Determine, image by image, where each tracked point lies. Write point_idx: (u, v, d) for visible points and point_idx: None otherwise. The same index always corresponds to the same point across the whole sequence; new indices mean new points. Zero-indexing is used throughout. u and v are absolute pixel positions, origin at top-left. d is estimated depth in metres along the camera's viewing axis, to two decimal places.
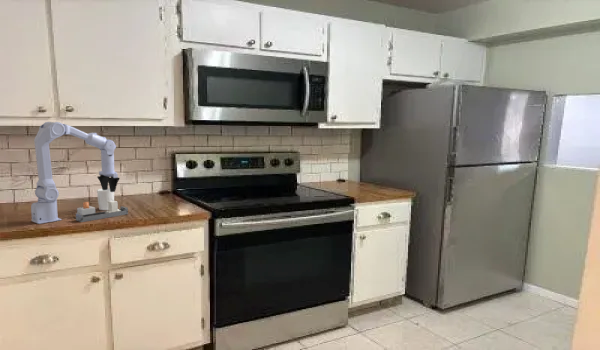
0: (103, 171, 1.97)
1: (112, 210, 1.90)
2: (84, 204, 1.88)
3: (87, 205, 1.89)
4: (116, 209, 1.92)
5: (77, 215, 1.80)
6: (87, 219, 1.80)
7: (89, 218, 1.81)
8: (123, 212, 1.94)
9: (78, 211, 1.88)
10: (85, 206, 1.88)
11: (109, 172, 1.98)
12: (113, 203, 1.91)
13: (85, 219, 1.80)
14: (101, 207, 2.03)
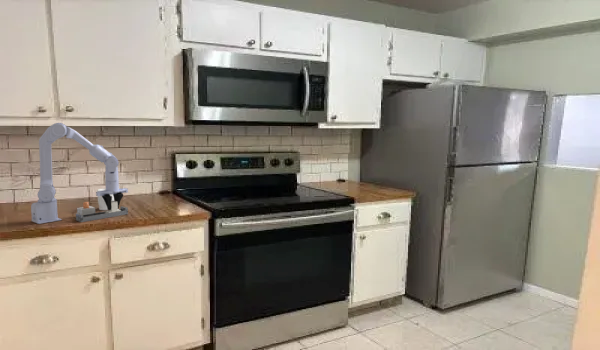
0: None
1: (112, 210, 1.90)
2: (84, 204, 1.88)
3: (87, 205, 1.89)
4: (116, 209, 1.92)
5: (77, 215, 1.80)
6: (87, 219, 1.80)
7: (89, 218, 1.81)
8: (123, 212, 1.94)
9: (78, 211, 1.88)
10: (85, 206, 1.88)
11: None
12: (113, 203, 1.91)
13: (85, 219, 1.80)
14: (101, 207, 2.03)
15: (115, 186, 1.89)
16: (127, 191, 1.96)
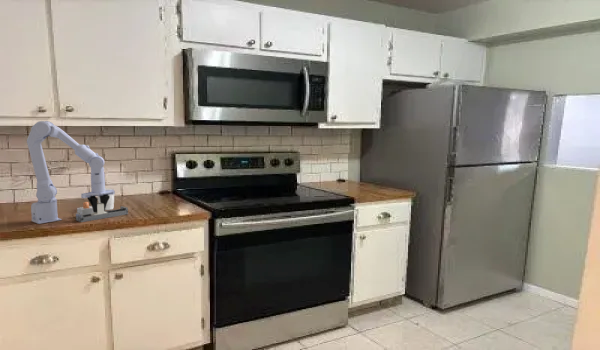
0: None
1: (98, 212, 1.85)
2: (84, 204, 1.88)
3: (87, 205, 1.89)
4: (102, 211, 1.87)
5: (77, 215, 1.80)
6: (87, 219, 1.80)
7: (89, 218, 1.81)
8: (123, 212, 1.94)
9: (78, 211, 1.88)
10: (85, 206, 1.88)
11: (91, 191, 1.84)
12: (99, 205, 1.85)
13: (85, 219, 1.80)
14: None
15: (101, 187, 1.84)
16: (114, 193, 1.91)
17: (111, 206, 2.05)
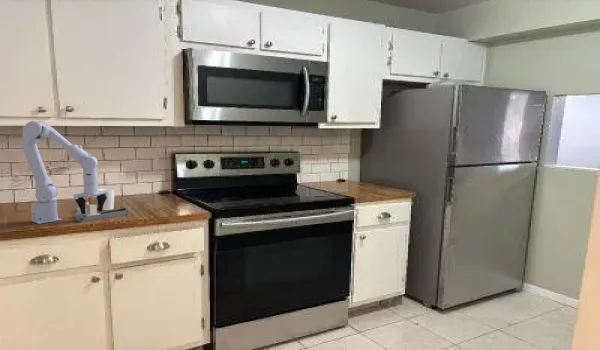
0: None
1: (91, 213, 1.83)
2: None
3: None
4: (95, 212, 1.84)
5: (77, 215, 1.80)
6: (87, 219, 1.80)
7: (89, 218, 1.81)
8: (123, 212, 1.94)
9: (78, 211, 1.88)
10: (85, 206, 1.88)
11: (84, 192, 1.81)
12: (92, 206, 1.83)
13: (85, 219, 1.80)
14: None
15: (94, 188, 1.81)
16: (107, 194, 1.88)
17: (111, 206, 2.05)
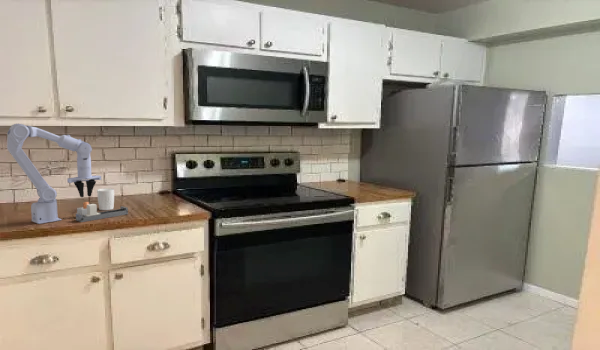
0: None
1: (91, 213, 1.83)
2: (84, 204, 1.88)
3: None
4: (95, 212, 1.84)
5: (77, 215, 1.80)
6: (87, 219, 1.80)
7: (89, 218, 1.81)
8: (123, 212, 1.94)
9: (78, 211, 1.88)
10: (85, 206, 1.88)
11: None
12: (92, 206, 1.83)
13: (85, 219, 1.80)
14: (101, 207, 2.03)
15: (87, 172, 1.86)
16: (100, 178, 1.93)
17: (111, 206, 2.05)
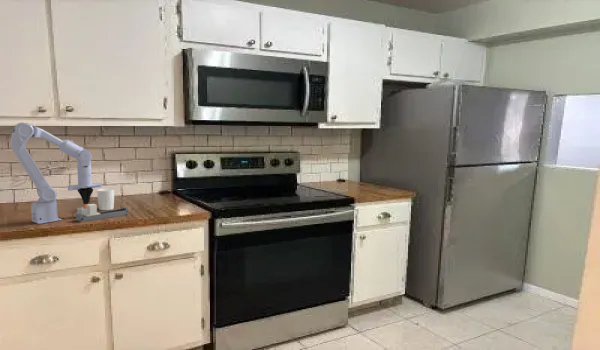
0: None
1: (91, 213, 1.83)
2: (84, 206, 1.88)
3: None
4: (95, 212, 1.84)
5: (77, 215, 1.80)
6: (87, 219, 1.80)
7: (89, 218, 1.81)
8: (123, 212, 1.94)
9: (78, 211, 1.88)
10: (85, 208, 1.88)
11: (78, 184, 1.86)
12: (92, 206, 1.83)
13: (85, 219, 1.80)
14: (101, 207, 2.03)
15: (87, 180, 1.86)
16: (101, 186, 1.93)
17: (111, 206, 2.05)
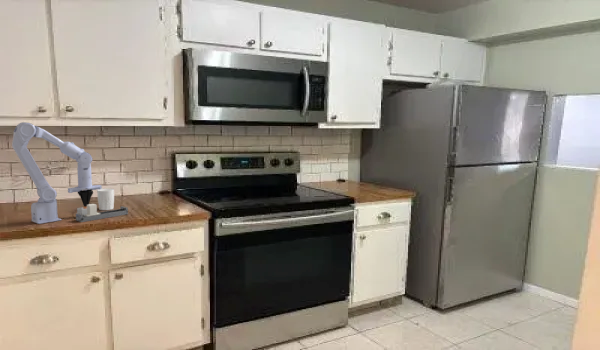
0: None
1: (91, 213, 1.83)
2: (84, 208, 1.88)
3: None
4: (95, 212, 1.84)
5: (77, 215, 1.80)
6: (87, 219, 1.80)
7: (89, 218, 1.81)
8: (123, 212, 1.94)
9: (78, 211, 1.88)
10: None
11: (78, 186, 1.86)
12: (92, 206, 1.83)
13: (85, 219, 1.80)
14: (101, 207, 2.03)
15: (88, 182, 1.86)
16: (101, 188, 1.93)
17: (111, 206, 2.05)
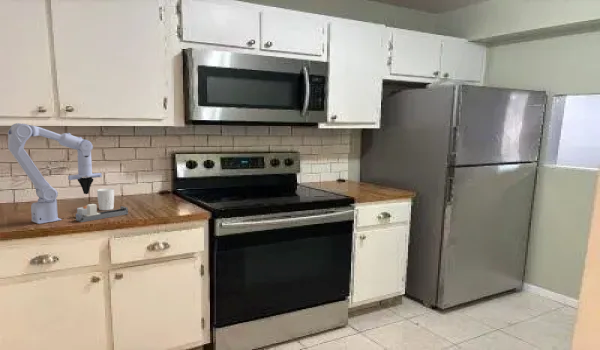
0: None
1: (91, 213, 1.83)
2: (84, 208, 1.88)
3: None
4: (95, 212, 1.84)
5: (77, 215, 1.80)
6: (87, 219, 1.80)
7: (89, 218, 1.81)
8: (123, 212, 1.94)
9: (78, 211, 1.88)
10: None
11: (78, 174, 1.87)
12: (92, 206, 1.83)
13: (85, 219, 1.80)
14: (101, 207, 2.03)
15: (88, 170, 1.87)
16: (101, 176, 1.94)
17: (111, 206, 2.05)
